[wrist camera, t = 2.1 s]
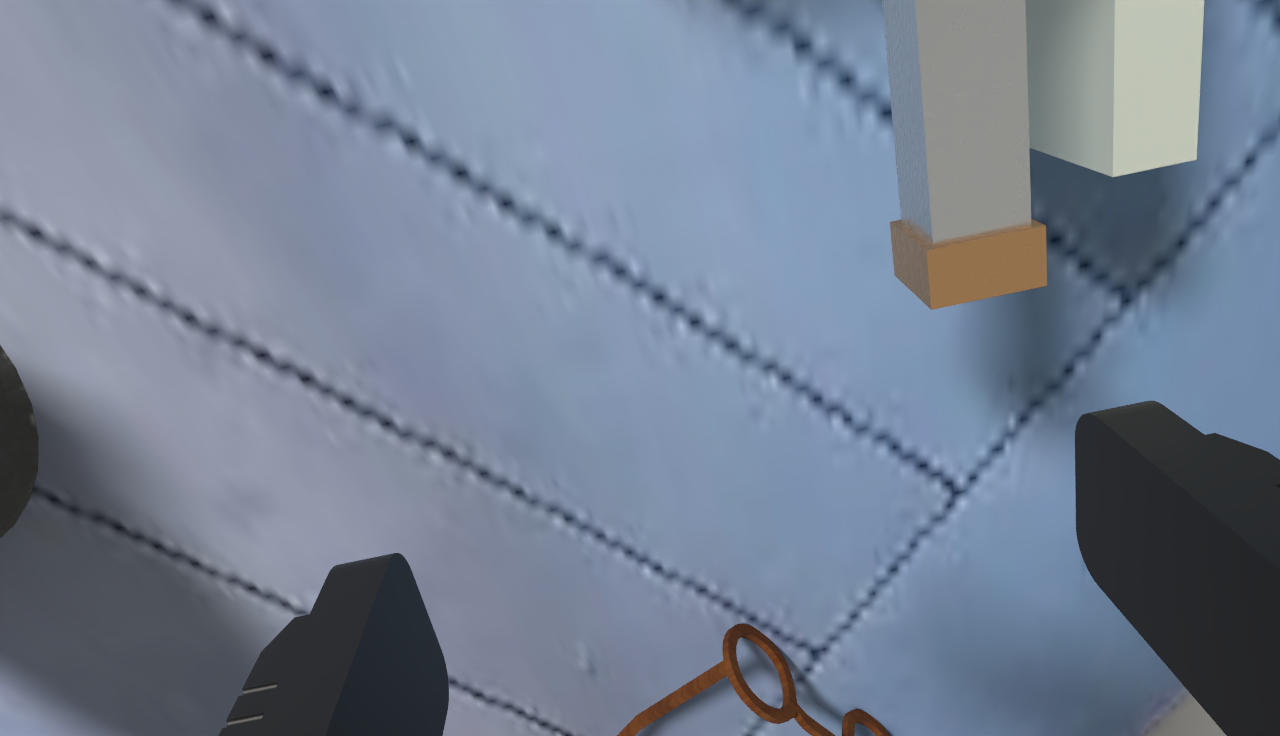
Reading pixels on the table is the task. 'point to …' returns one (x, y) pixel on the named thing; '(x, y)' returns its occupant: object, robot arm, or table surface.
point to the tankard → (15, 445)
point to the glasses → (748, 697)
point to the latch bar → (962, 150)
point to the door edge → (1114, 81)
